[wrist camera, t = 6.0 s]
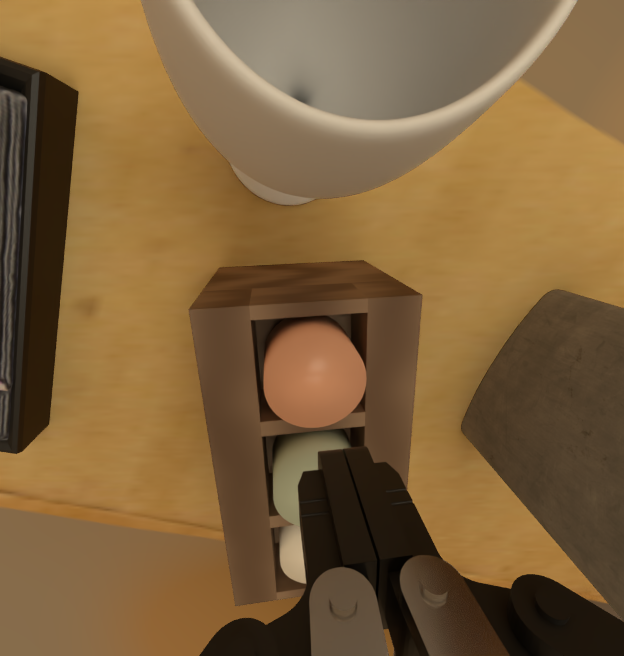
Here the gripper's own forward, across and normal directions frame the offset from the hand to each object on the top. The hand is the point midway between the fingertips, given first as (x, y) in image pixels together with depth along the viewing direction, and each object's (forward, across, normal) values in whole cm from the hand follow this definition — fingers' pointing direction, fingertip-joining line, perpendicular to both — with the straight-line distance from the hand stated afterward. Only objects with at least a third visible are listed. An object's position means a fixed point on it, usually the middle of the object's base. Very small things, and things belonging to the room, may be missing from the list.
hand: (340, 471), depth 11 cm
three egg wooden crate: (+18, 0, +7) cm, 19 cm away
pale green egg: (+9, 0, +7) cm, 11 cm away
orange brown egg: (+9, 0, 0) cm, 9 cm away
